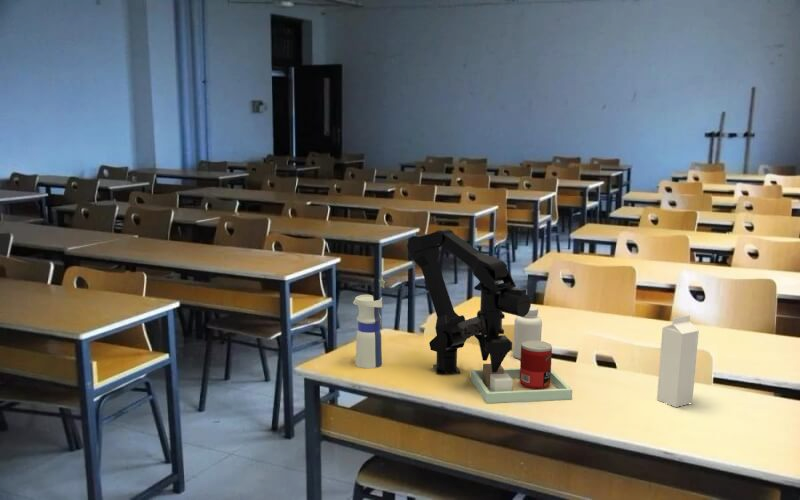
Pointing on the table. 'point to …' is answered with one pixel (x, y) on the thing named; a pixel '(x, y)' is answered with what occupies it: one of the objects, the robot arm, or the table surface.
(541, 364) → the canned food
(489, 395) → the mint green rectangular frame
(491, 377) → the white block
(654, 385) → the table surface
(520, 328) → the pill bottle
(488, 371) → the brown carton
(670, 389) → the milk
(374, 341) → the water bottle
